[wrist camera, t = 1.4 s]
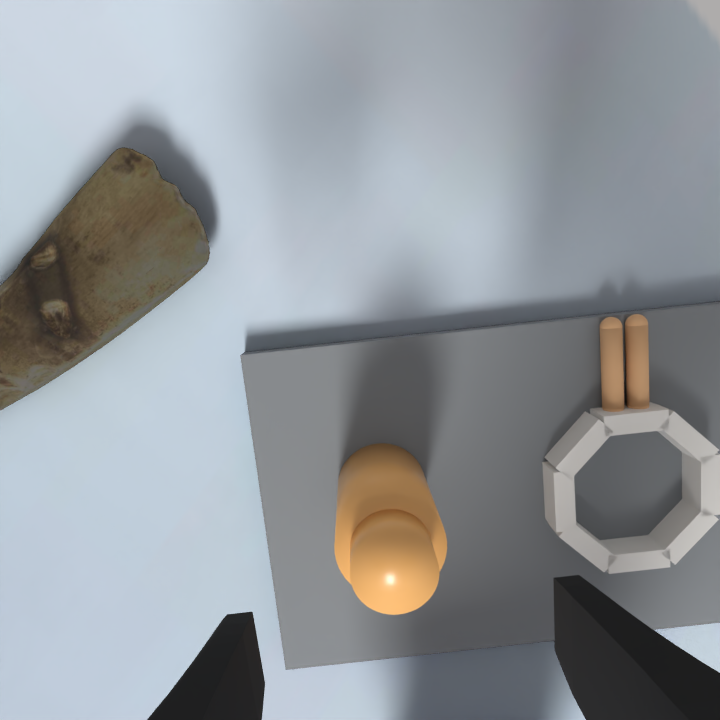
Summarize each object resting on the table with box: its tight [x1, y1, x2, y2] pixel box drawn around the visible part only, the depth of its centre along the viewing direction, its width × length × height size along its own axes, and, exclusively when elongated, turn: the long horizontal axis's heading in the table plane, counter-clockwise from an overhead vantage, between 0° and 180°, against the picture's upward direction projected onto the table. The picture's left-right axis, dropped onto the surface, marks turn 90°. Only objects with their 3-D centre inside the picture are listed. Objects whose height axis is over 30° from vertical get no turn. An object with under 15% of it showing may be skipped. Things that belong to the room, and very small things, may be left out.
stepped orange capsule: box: [334, 443, 447, 615], centre depth 18 cm, size 4×4×6 cm
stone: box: [0, 148, 210, 410], centre depth 20 cm, size 13×5×2 cm, turn 133°
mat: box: [240, 301, 720, 670], centre depth 22 cm, size 14×20×2 cm
